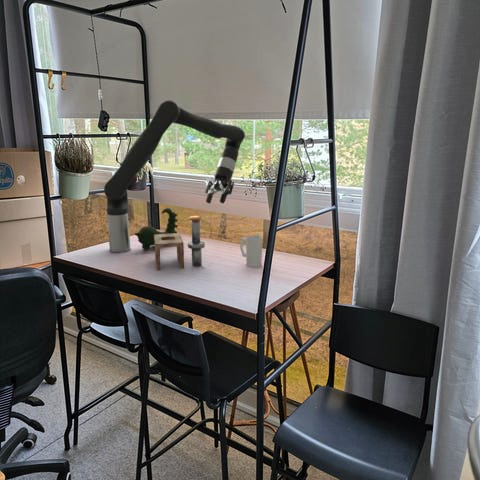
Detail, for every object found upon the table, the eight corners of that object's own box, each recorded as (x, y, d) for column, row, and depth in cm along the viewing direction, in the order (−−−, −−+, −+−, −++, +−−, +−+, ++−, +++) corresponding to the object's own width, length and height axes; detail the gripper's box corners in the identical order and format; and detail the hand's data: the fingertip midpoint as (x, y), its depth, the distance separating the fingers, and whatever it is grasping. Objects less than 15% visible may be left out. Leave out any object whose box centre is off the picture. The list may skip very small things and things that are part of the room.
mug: (265, 264, 178) (265, 236, 175) (256, 268, 173) (256, 239, 170) (245, 260, 184) (245, 233, 181) (236, 264, 178) (235, 236, 175)
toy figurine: (167, 243, 217) (128, 250, 198) (168, 206, 214) (128, 209, 194) (181, 246, 212) (141, 253, 192) (182, 208, 208) (141, 211, 188)
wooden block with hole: (156, 270, 171) (155, 244, 168) (155, 259, 186) (154, 234, 183) (184, 268, 173) (183, 242, 171) (180, 257, 188) (179, 233, 186)
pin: (189, 268, 173) (187, 219, 168) (187, 263, 180) (186, 215, 175) (206, 267, 175) (205, 218, 170) (203, 262, 181) (202, 214, 176)
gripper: (208, 166, 192) (197, 199, 188) (231, 164, 183) (220, 198, 179) (219, 174, 198) (209, 206, 194) (242, 172, 188) (231, 206, 184)
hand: (214, 202), depth 186 cm, fingers open, 8 cm apart
